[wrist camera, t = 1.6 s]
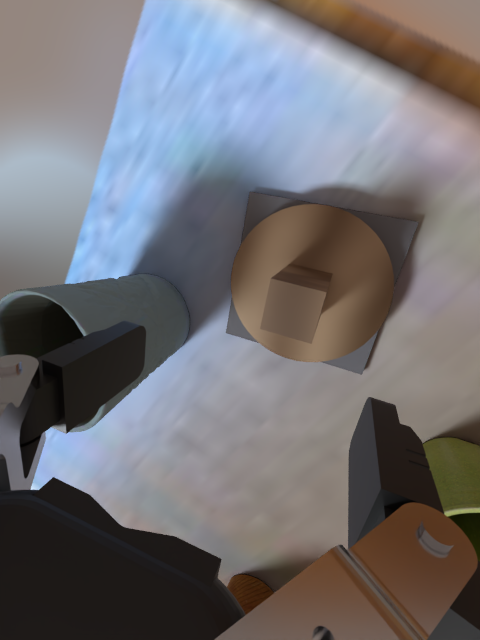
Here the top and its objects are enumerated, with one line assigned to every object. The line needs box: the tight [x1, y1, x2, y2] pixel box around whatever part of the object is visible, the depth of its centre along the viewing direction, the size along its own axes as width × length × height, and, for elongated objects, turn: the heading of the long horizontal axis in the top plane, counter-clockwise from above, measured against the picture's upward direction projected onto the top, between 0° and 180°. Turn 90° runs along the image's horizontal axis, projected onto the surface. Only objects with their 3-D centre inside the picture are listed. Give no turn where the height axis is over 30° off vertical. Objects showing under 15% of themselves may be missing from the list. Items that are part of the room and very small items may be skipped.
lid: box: [231, 204, 394, 362], centre depth 21 cm, size 12×12×7 cm
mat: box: [226, 192, 418, 374], centre depth 25 cm, size 12×12×1 cm
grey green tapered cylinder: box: [0, 274, 190, 432], centre depth 26 cm, size 10×10×12 cm
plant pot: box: [423, 437, 480, 561], centre depth 22 cm, size 9×9×9 cm
